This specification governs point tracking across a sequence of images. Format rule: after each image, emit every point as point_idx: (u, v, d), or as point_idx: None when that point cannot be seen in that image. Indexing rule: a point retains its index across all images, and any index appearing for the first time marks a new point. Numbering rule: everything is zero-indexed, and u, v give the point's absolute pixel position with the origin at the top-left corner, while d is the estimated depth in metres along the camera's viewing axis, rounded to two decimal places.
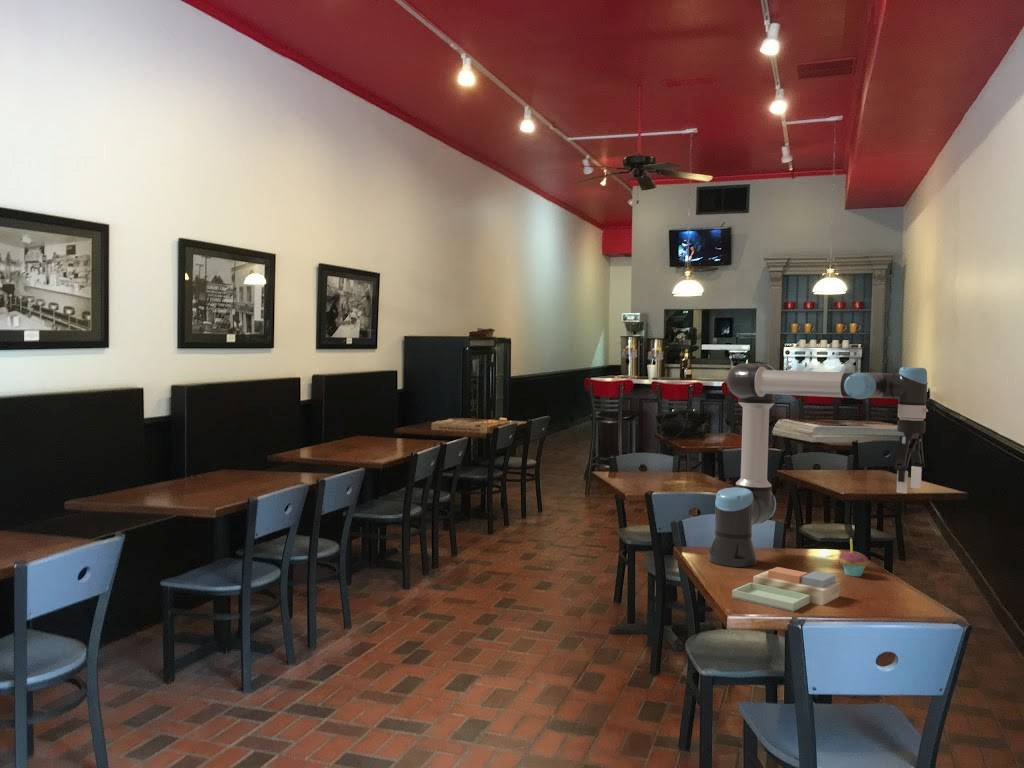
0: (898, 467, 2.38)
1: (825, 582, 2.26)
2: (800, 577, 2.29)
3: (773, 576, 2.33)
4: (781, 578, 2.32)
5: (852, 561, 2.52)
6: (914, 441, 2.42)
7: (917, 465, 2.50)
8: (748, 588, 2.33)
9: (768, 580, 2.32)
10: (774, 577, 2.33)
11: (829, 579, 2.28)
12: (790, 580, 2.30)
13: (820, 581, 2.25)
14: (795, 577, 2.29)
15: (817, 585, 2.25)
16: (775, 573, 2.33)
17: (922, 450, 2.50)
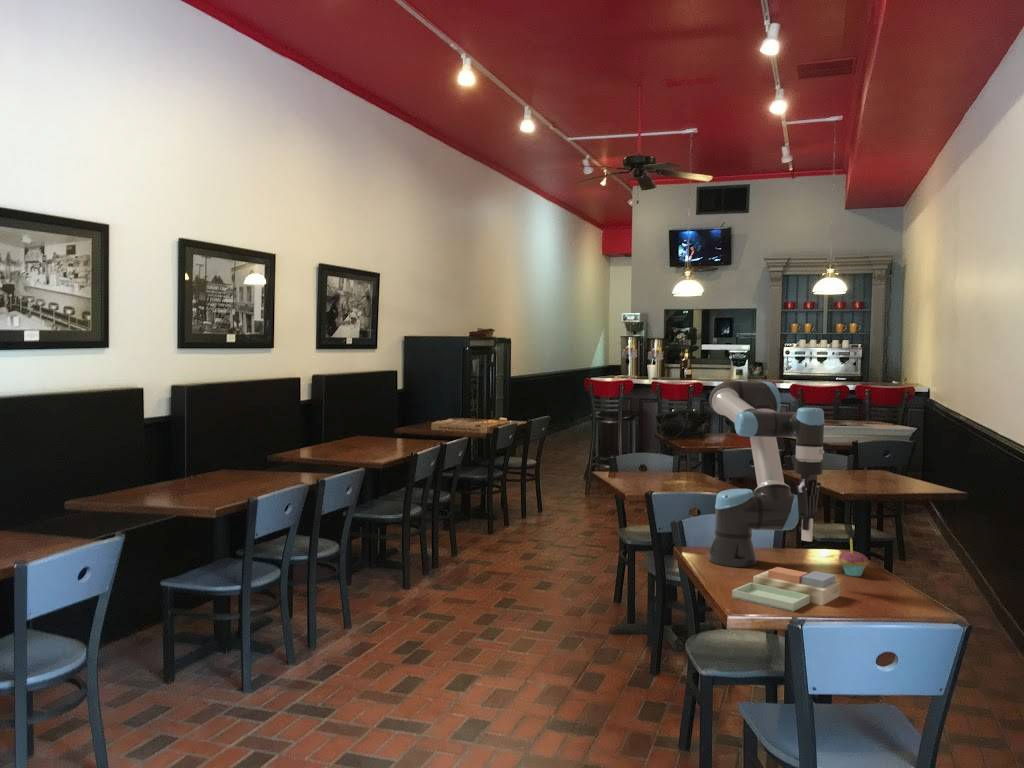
0: (802, 515, 2.39)
1: (825, 582, 2.26)
2: (800, 577, 2.29)
3: (773, 576, 2.33)
4: (781, 578, 2.32)
5: (852, 561, 2.52)
6: (811, 483, 2.39)
7: None
8: (748, 588, 2.33)
9: (768, 580, 2.32)
10: (774, 577, 2.33)
11: (829, 579, 2.28)
12: (790, 580, 2.30)
13: (820, 581, 2.25)
14: (795, 577, 2.29)
15: (817, 585, 2.25)
16: (775, 573, 2.33)
17: (817, 500, 2.44)
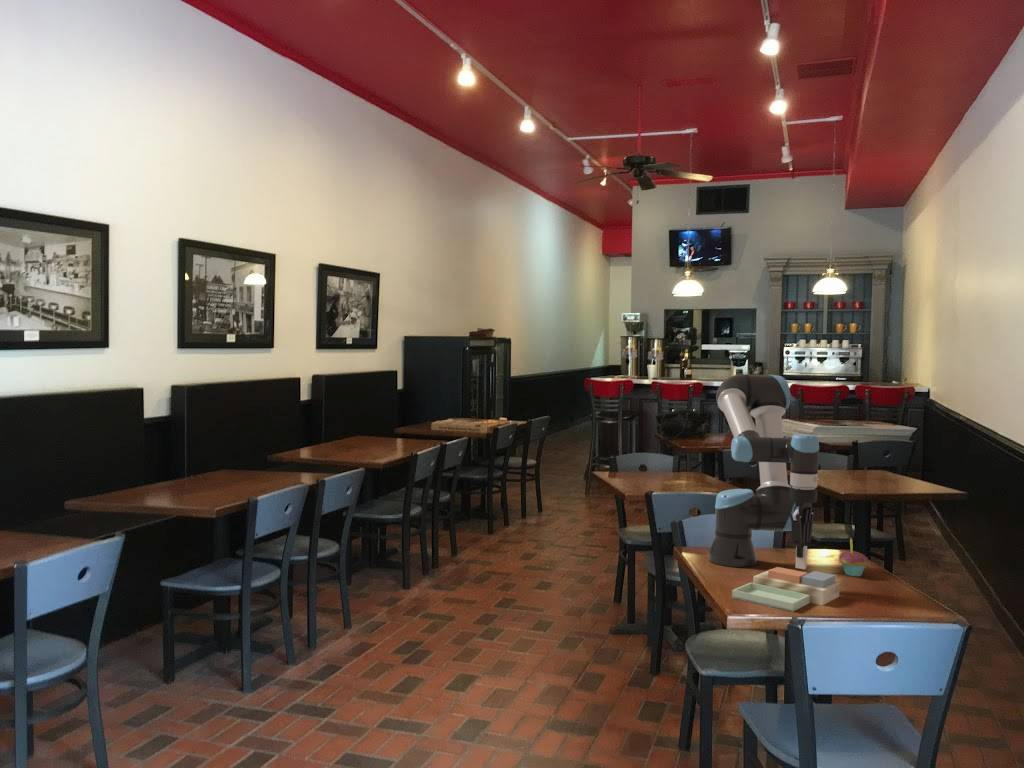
0: (796, 543, 2.37)
1: (825, 582, 2.26)
2: (800, 577, 2.29)
3: (773, 576, 2.33)
4: (781, 578, 2.32)
5: (852, 561, 2.52)
6: (805, 510, 2.37)
7: None
8: (748, 588, 2.33)
9: (768, 580, 2.32)
10: (774, 577, 2.33)
11: (829, 579, 2.28)
12: (790, 580, 2.30)
13: (820, 581, 2.25)
14: (795, 577, 2.29)
15: (817, 585, 2.25)
16: (775, 573, 2.33)
17: (811, 527, 2.42)
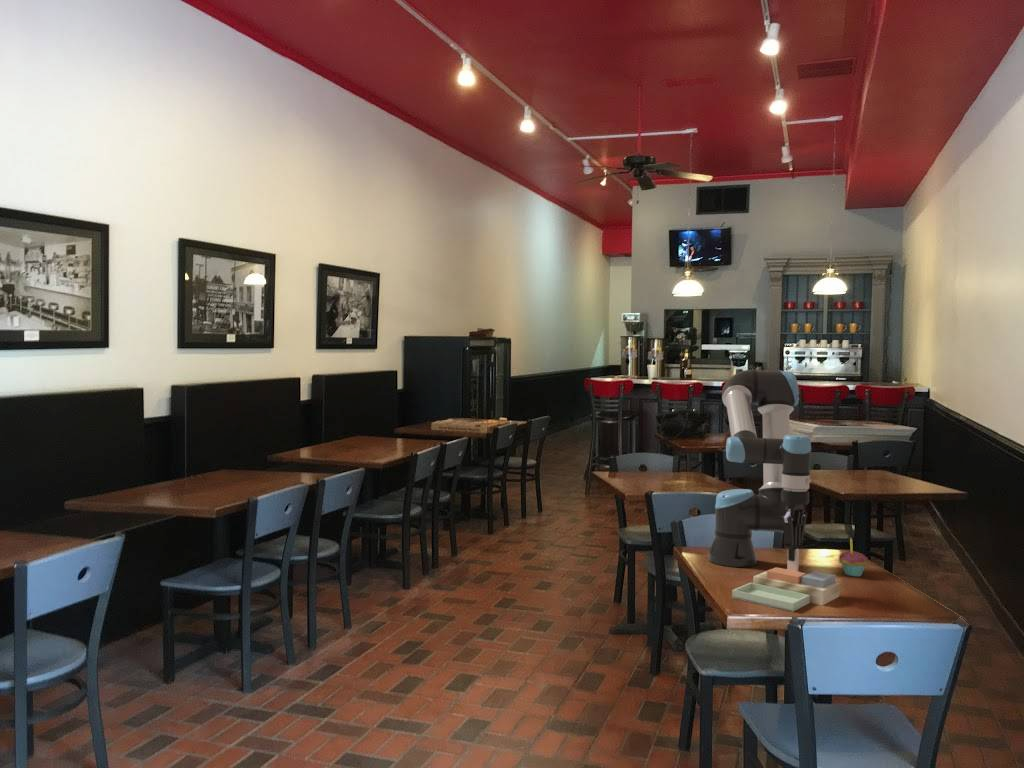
0: (787, 546, 2.33)
1: (825, 582, 2.26)
2: (799, 577, 2.28)
3: (772, 576, 2.33)
4: (780, 578, 2.31)
5: (852, 561, 2.52)
6: (797, 513, 2.33)
7: None
8: (748, 588, 2.33)
9: (768, 580, 2.32)
10: (773, 577, 2.33)
11: (829, 579, 2.28)
12: (789, 580, 2.29)
13: (820, 581, 2.25)
14: (794, 577, 2.29)
15: (817, 585, 2.25)
16: (774, 573, 2.32)
17: (803, 529, 2.38)
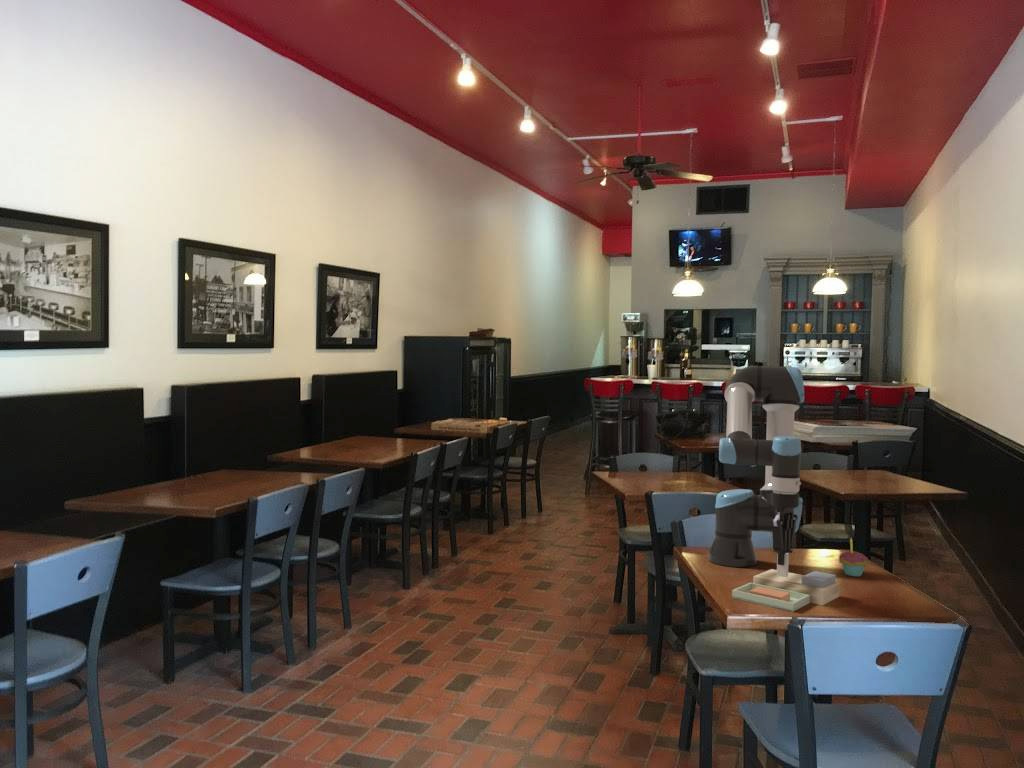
0: (777, 550, 2.28)
1: (825, 582, 2.26)
2: (788, 599, 2.24)
3: None
4: None
5: (852, 561, 2.52)
6: (786, 516, 2.28)
7: None
8: (748, 588, 2.33)
9: (768, 580, 2.32)
10: None
11: (829, 579, 2.28)
12: None
13: (820, 581, 2.25)
14: None
15: (817, 585, 2.25)
16: None
17: (793, 533, 2.33)
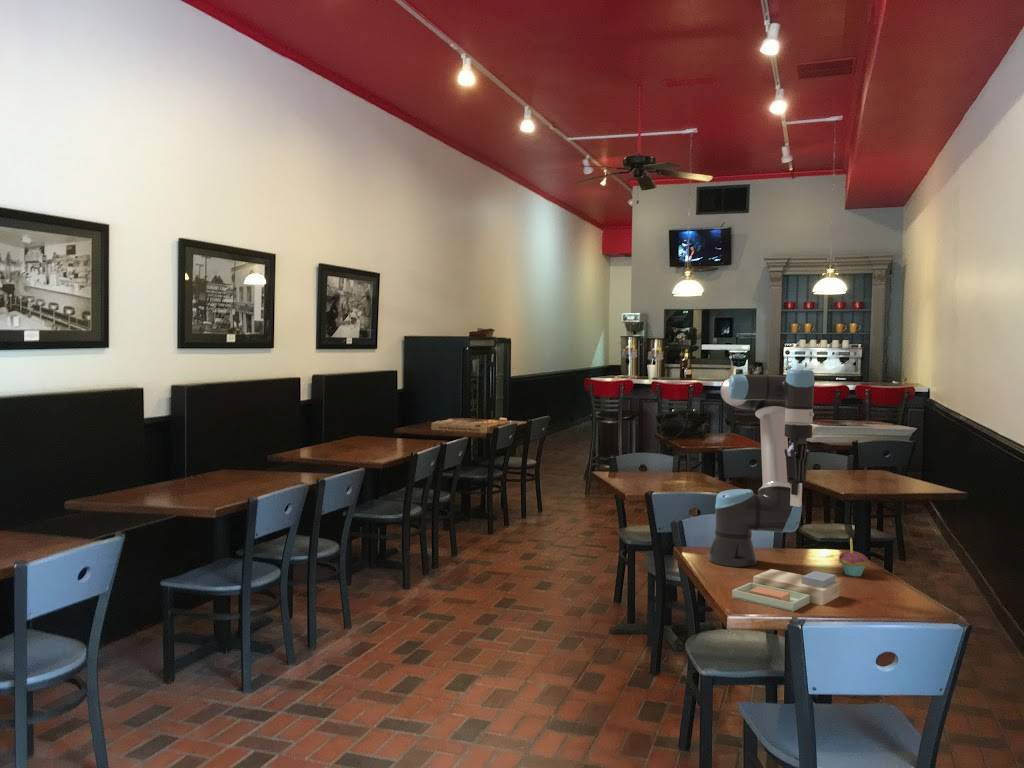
0: (790, 480, 2.33)
1: (825, 582, 2.26)
2: (788, 599, 2.24)
3: None
4: None
5: (852, 561, 2.52)
6: (800, 446, 2.33)
7: None
8: (748, 588, 2.33)
9: (768, 580, 2.32)
10: None
11: (829, 579, 2.28)
12: None
13: (820, 581, 2.25)
14: None
15: (817, 585, 2.25)
16: None
17: (807, 464, 2.38)
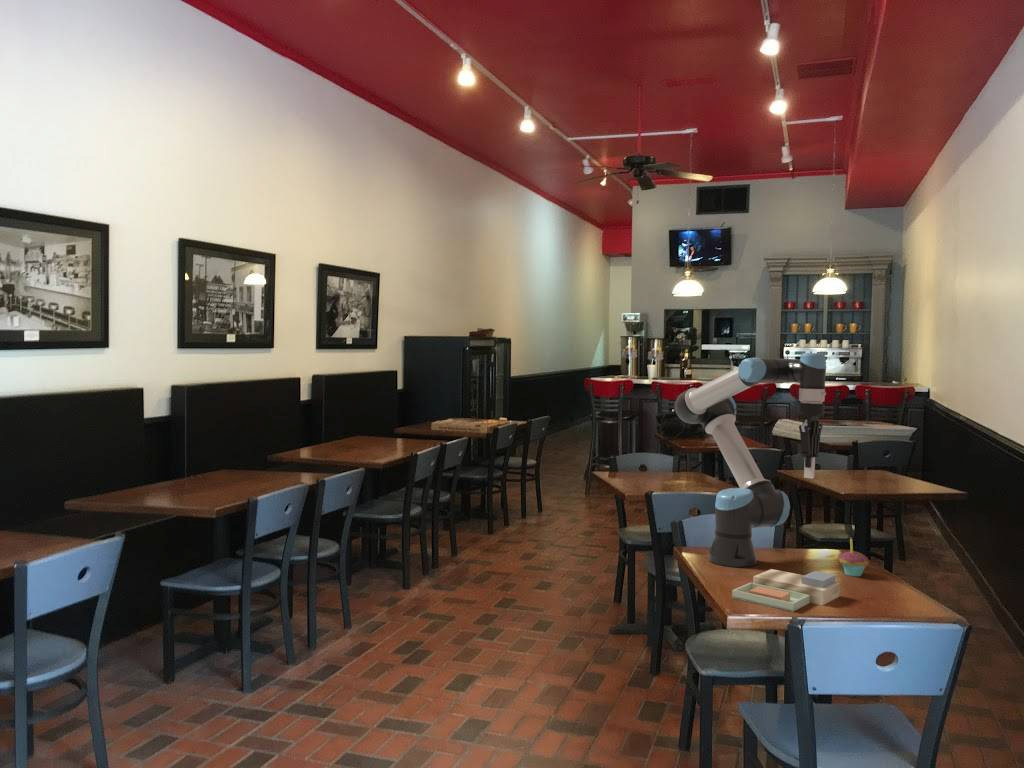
0: (804, 454, 2.55)
1: (825, 582, 2.26)
2: (788, 599, 2.24)
3: None
4: None
5: (852, 561, 2.52)
6: (813, 423, 2.54)
7: None
8: (748, 588, 2.33)
9: (768, 580, 2.32)
10: None
11: (829, 579, 2.28)
12: None
13: (820, 581, 2.25)
14: None
15: (817, 585, 2.25)
16: None
17: (819, 440, 2.60)
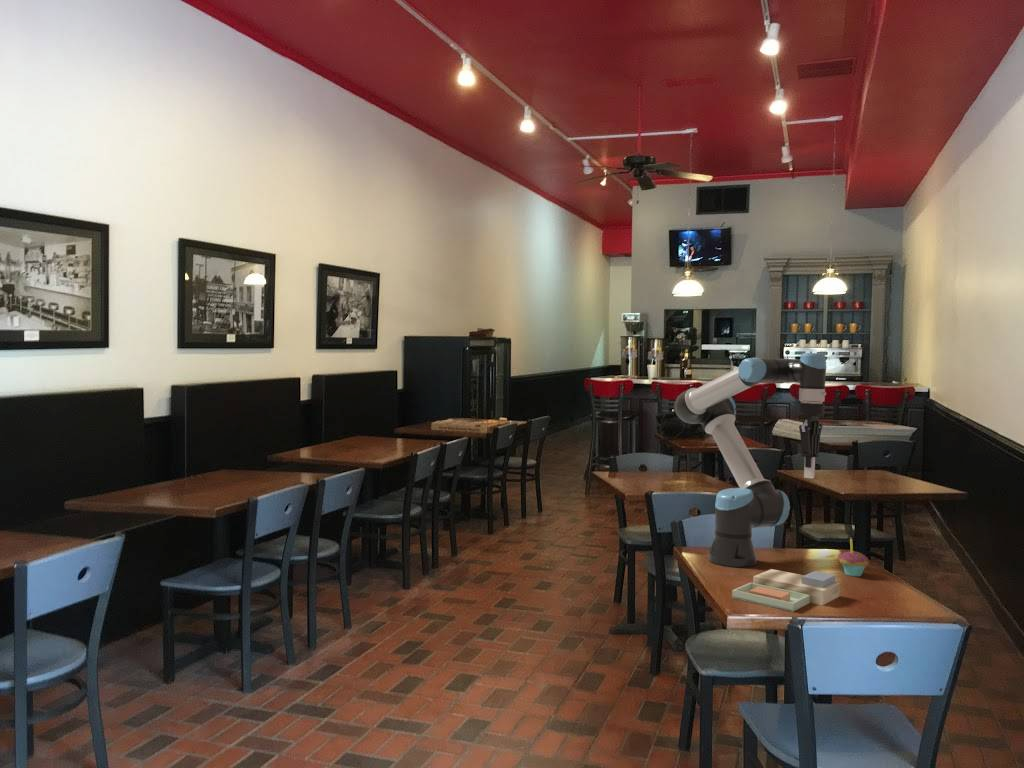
0: (804, 454, 2.55)
1: (825, 582, 2.26)
2: (788, 599, 2.24)
3: None
4: None
5: (852, 561, 2.52)
6: (813, 423, 2.55)
7: None
8: (748, 588, 2.33)
9: (768, 580, 2.32)
10: None
11: (829, 579, 2.28)
12: None
13: (820, 581, 2.25)
14: None
15: (817, 585, 2.25)
16: None
17: (819, 440, 2.60)
